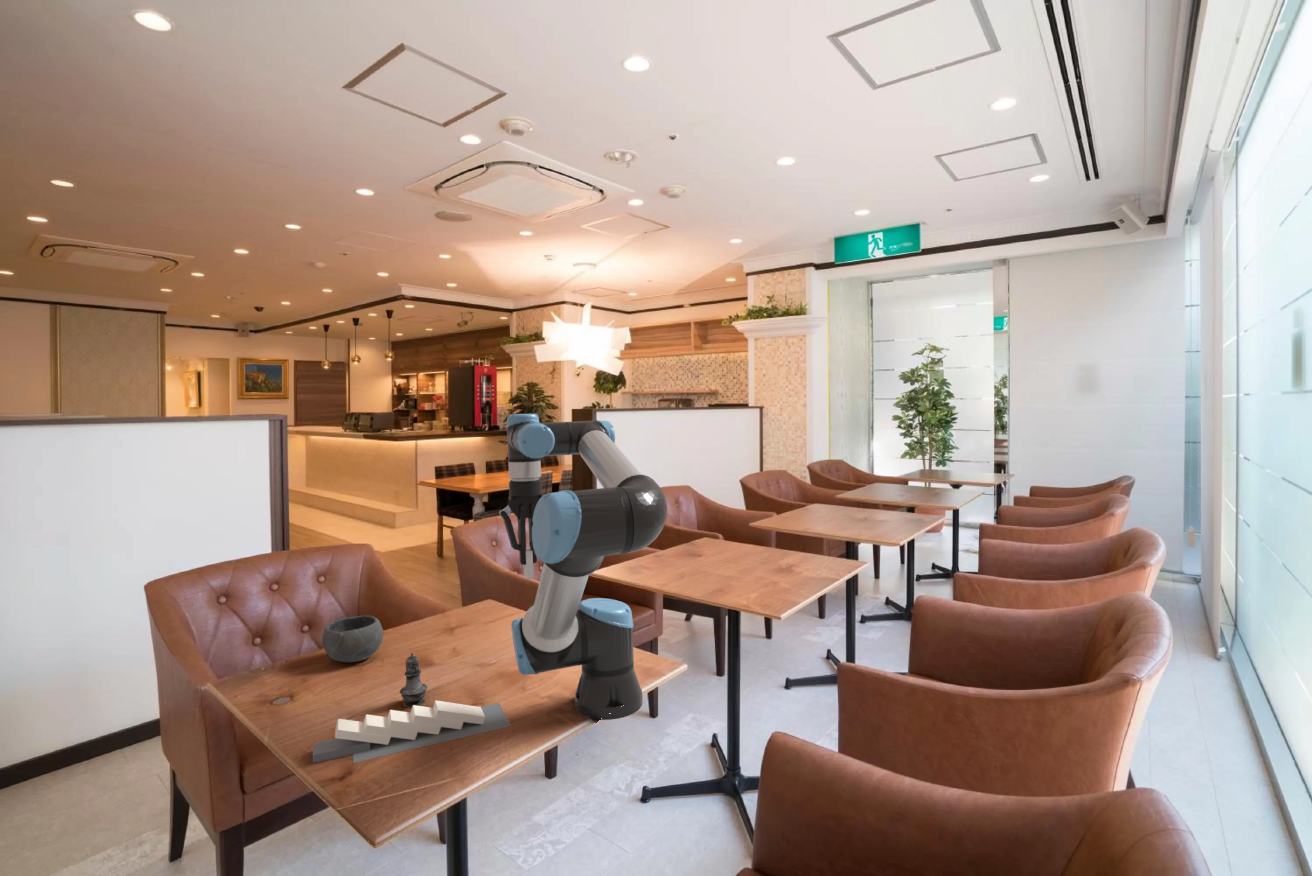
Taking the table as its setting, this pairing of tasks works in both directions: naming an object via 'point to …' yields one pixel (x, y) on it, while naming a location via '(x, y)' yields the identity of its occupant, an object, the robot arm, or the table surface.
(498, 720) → the mat
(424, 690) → the grey chess piece
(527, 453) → the robot arm
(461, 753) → the table surface
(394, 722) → the tile
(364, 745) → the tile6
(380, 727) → the tile
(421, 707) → the tile
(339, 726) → the tile
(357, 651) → the bowl
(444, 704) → the tile
